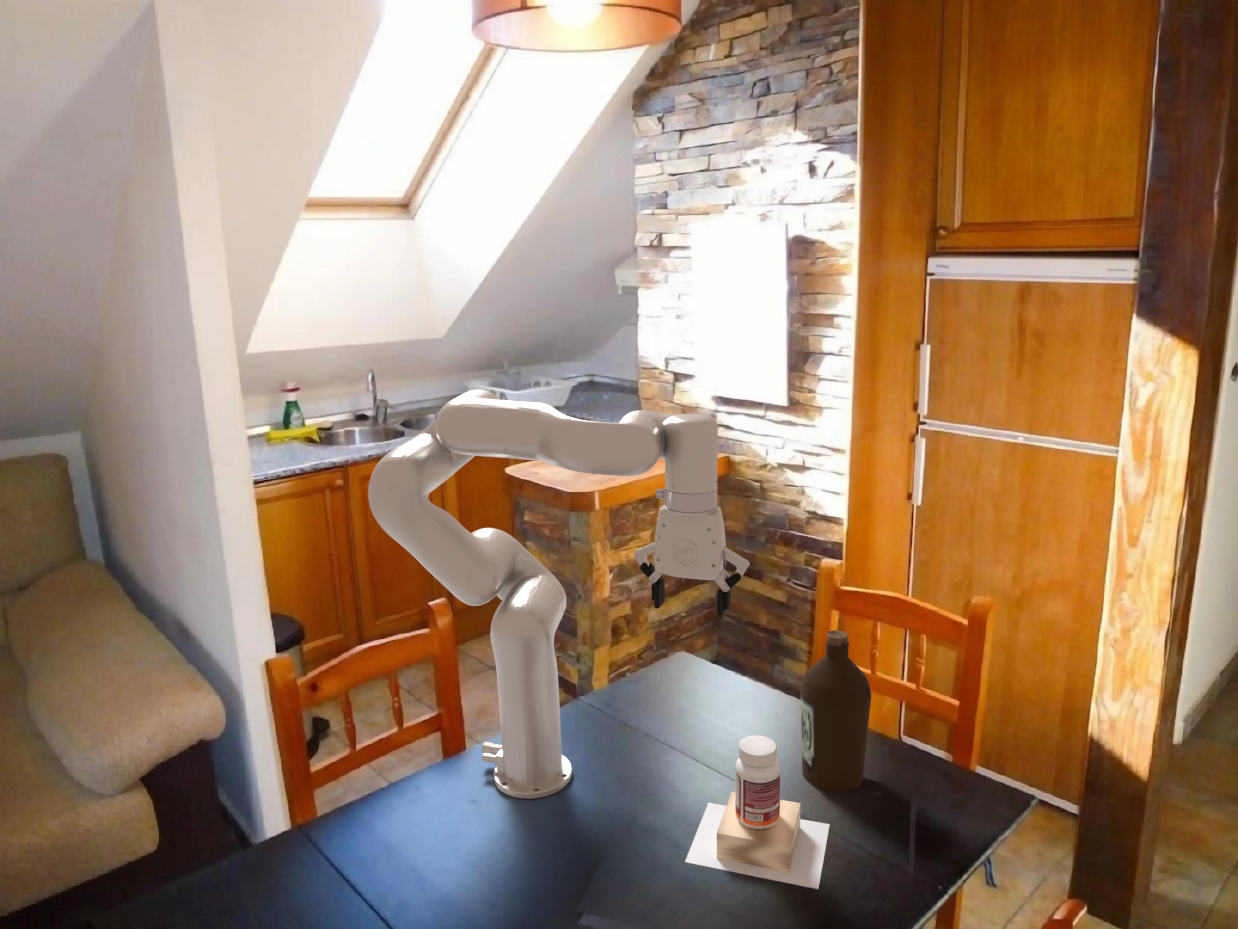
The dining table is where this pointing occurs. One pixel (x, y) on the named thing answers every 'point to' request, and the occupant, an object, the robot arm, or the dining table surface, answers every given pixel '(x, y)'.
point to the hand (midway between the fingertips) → (690, 609)
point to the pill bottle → (757, 783)
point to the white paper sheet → (801, 873)
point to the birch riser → (760, 838)
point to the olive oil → (834, 719)
